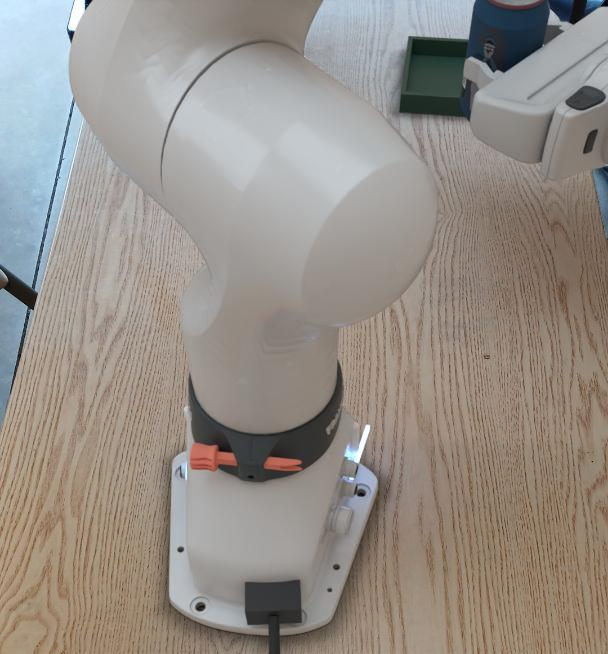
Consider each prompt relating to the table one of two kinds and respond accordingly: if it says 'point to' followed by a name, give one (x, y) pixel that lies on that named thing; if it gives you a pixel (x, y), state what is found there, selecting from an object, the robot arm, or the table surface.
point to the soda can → (503, 37)
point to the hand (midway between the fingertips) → (496, 45)
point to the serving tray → (433, 76)
